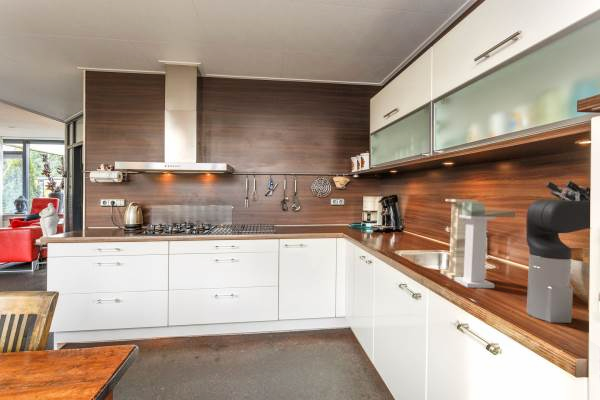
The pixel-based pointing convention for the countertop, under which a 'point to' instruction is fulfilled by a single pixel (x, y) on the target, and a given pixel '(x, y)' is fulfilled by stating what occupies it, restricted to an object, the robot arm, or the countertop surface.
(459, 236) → the beige wooden post
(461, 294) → the countertop surface
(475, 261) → the white pedestal stand
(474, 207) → the mallet
